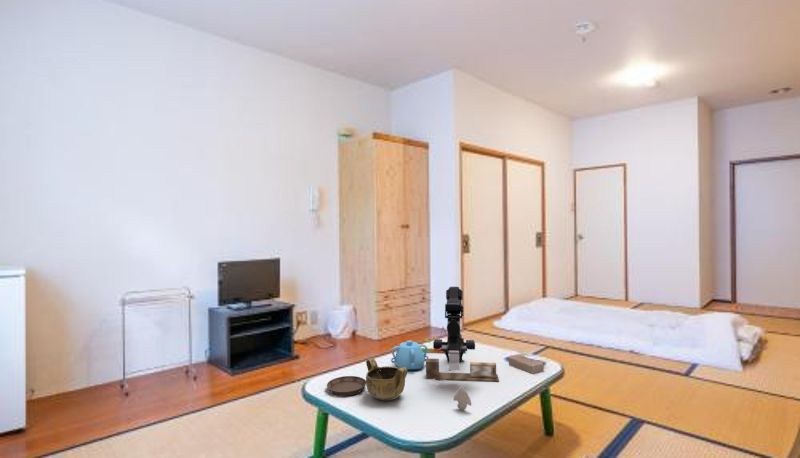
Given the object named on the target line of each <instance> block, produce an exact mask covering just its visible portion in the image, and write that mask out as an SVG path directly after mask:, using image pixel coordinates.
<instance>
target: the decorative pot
mask: <svg viewBox="0 0 800 458" xmlns="http://www.w3.org/2000/svg"><path fill="white" fill-rule="evenodd" d="M421 344H422V343H421ZM421 344H419V343H418V342H416V341H414V340H406V341H404V342H401V343H400V344H399V345H396V346H395V345H394V346H393V347H392V348H391V353H392V356H393V357H392V358H391V359H390V362H391V363H392V364H396V365H397V367H398V368H402V367H405V368H406V369H407V370H417V371H419V370H420V369H421V368H422V367H423V366H424V364H425V363H426V359H427V358H428V359H429V356H428V355H427V354H428V353H427V349H428V346H427V345H425V344H424V343H423V344H422V345H421ZM422 347H423V348H425V353H423V351H422V349H421V348H422ZM395 350H396V353H395Z"/></svg>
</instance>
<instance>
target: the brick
mask: <svg viewBox="0 0 800 458" xmlns="http://www.w3.org/2000/svg"><path fill="white" fill-rule="evenodd" d="M508 365H509V366H511V367H513V368H516V369H517V370H521V371H522V372H525V373H529V374H532V375H536V374H538V373H543V372H545V370H544V363H543V362H540V361H537V360H533V359H531V358H530V357H529V358H528V357H526V356H524V355H523V354H514V355H511V356H509V357H508Z"/></svg>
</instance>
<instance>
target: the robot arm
mask: <svg viewBox="0 0 800 458" xmlns="http://www.w3.org/2000/svg"><path fill="white" fill-rule="evenodd" d="M463 294H464V293H463V290H462V289H460V287H459V286H449V288H448V289H447V290H446V291H445V299H446V303H445V304H444V305H445V306H444V318H445V319H447V324H446V330H447V339H446V341H443V339H439V338H437V339H435V338H434V339H433V342H432V343H433V345H432V347H433V348H432V349H441V350H442V351H444V352H445V353H444V355H445V356H446V360H447V363H448V364H449V353H448V351H459V365H460V364H461V363H462V362H463V363H464V362H465V360H464V359H463V356H464V355H465V354H464V352H465V351H466V352H468V350H473V351H474V350H476V342H475V340H474V339H469V340H468V339H466V340H465V338H463V335H462V333H461V319H463V317H464V306H463V304H462V301H463V300H464V298H463Z"/></svg>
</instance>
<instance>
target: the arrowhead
mask: <svg viewBox="0 0 800 458" xmlns="http://www.w3.org/2000/svg"><path fill="white" fill-rule="evenodd" d="M453 401H454V402H455V401H456V402H457V403H458V404H457V405H456V407H457V408H458V409H459V410H461V411H465V410H466V409H467V406H470V407H471V406H472V401H471V397H470V396H469V394H468V392H467V391H466V389H465V388H464V386H462V385H460V387H459V388H458V389H457V391H456V392H455V394H454V395H453Z"/></svg>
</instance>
